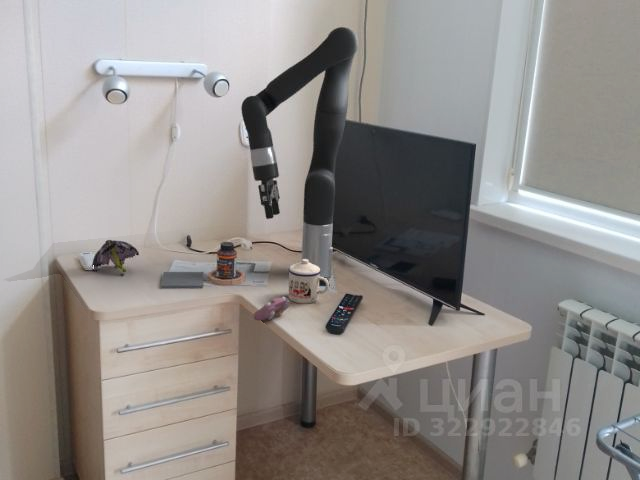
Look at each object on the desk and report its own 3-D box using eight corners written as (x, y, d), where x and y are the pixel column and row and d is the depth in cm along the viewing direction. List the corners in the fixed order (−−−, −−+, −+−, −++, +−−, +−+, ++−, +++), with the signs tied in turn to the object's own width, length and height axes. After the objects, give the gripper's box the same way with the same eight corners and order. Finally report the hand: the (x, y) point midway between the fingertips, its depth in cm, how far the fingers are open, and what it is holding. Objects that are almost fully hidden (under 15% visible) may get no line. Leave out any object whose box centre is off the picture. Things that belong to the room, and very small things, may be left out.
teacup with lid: (282, 300, 194) (284, 261, 191) (294, 290, 202) (296, 253, 199) (322, 308, 190) (324, 268, 187) (332, 297, 198) (335, 259, 195)
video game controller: (262, 329, 179) (272, 310, 175) (250, 317, 180) (260, 298, 177) (286, 318, 186) (296, 299, 183) (275, 307, 188) (284, 288, 184)
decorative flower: (129, 232, 217) (132, 232, 203) (142, 267, 218) (146, 268, 204) (83, 248, 212) (83, 248, 198) (96, 283, 214) (97, 286, 199)
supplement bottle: (215, 281, 206) (215, 246, 203) (217, 275, 212) (217, 240, 208) (235, 282, 206) (236, 246, 203) (236, 275, 212) (237, 240, 209)
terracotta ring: (243, 272, 215) (243, 268, 215) (245, 285, 205) (245, 280, 204) (208, 272, 213) (208, 268, 213) (207, 285, 203) (207, 280, 202)
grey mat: (203, 274, 212) (203, 271, 211) (202, 288, 200) (202, 285, 200) (163, 274, 210) (163, 271, 210) (160, 288, 198) (160, 285, 198)
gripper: (270, 163, 197) (280, 218, 200) (281, 160, 211) (290, 211, 214) (246, 167, 199) (255, 221, 201) (258, 163, 213) (266, 214, 215)
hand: (273, 216), depth 207 cm, fingers open, 8 cm apart
